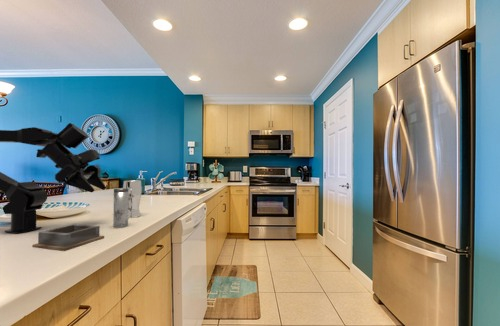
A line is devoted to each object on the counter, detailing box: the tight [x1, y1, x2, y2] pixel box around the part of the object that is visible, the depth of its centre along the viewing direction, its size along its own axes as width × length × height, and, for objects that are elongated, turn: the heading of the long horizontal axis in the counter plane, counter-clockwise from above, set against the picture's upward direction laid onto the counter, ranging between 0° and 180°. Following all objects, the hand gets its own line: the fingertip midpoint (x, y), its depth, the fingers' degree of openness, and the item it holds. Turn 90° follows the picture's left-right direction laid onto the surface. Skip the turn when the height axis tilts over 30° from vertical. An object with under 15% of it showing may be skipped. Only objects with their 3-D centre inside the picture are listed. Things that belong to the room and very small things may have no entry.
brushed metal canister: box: [112, 187, 129, 229], centre depth 81 cm, size 4×4×13 cm
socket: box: [32, 223, 105, 252], centre depth 63 cm, size 11×11×4 cm
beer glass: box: [122, 179, 143, 219], centre depth 98 cm, size 7×7×15 cm
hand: (99, 190), depth 80 cm, fingers open, 9 cm apart
